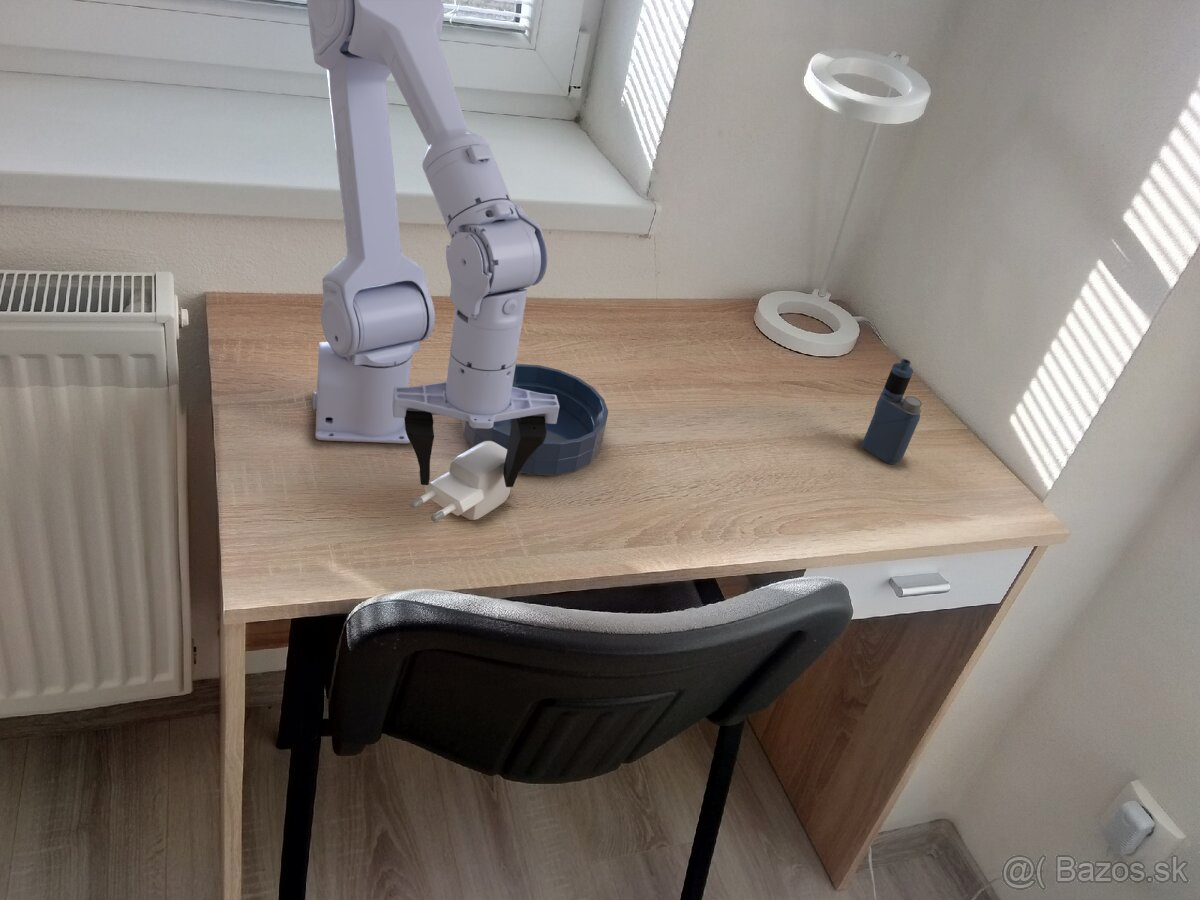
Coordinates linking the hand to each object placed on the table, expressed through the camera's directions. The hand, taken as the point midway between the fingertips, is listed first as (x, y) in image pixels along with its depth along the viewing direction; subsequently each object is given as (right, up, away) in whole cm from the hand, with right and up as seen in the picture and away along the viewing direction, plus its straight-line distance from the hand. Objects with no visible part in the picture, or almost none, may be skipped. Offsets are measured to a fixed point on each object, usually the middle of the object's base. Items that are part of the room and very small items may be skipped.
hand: (466, 479), depth 97 cm
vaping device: (+46, +2, +27) cm, 53 cm away
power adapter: (-1, -4, +3) cm, 5 cm away
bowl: (+5, +4, +16) cm, 17 cm away
